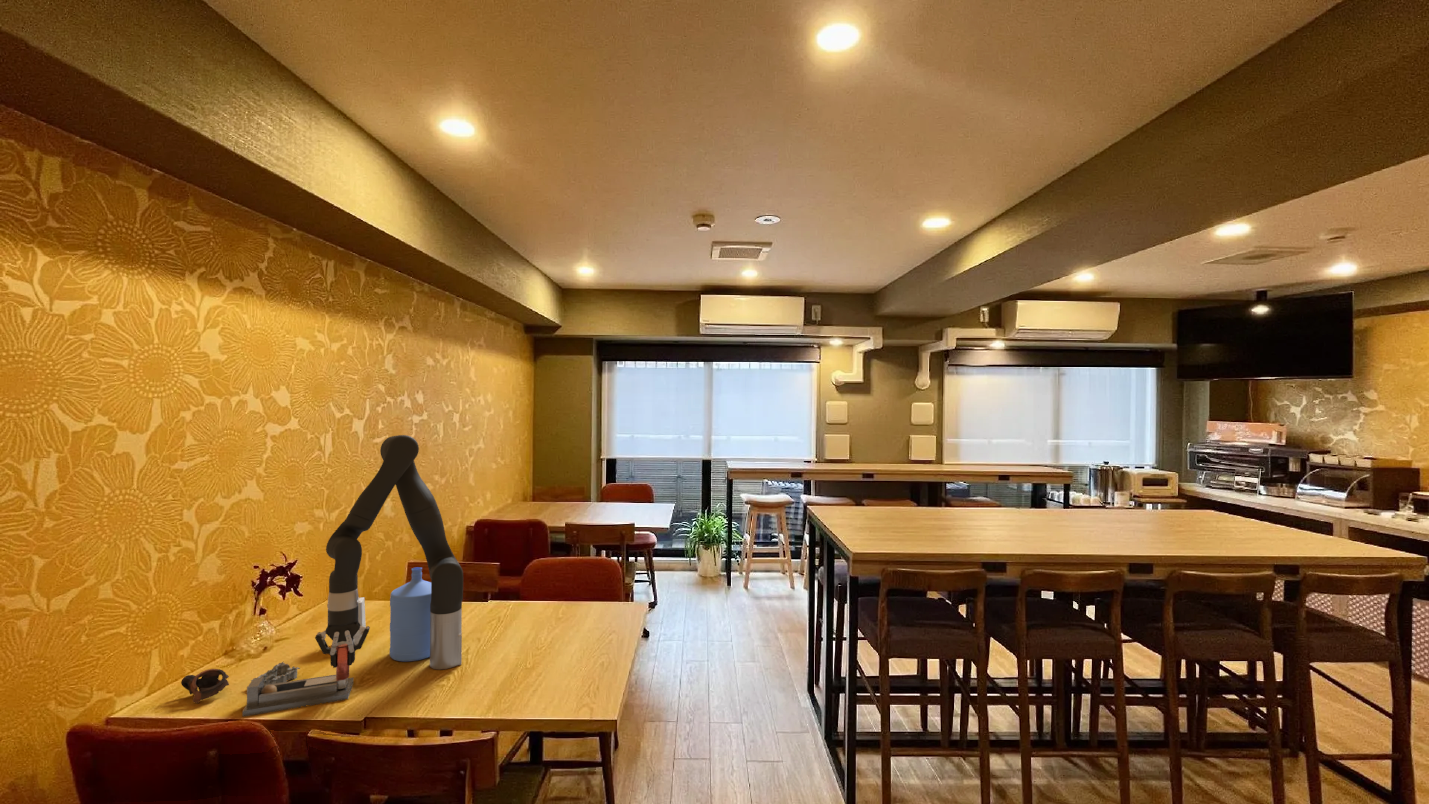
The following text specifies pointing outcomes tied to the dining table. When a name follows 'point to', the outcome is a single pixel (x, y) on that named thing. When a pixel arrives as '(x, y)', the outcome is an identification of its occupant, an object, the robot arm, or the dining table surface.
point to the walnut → (269, 689)
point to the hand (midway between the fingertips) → (342, 665)
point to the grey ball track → (291, 695)
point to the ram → (341, 670)
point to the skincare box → (360, 619)
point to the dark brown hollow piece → (205, 684)
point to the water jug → (410, 619)
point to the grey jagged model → (277, 670)
